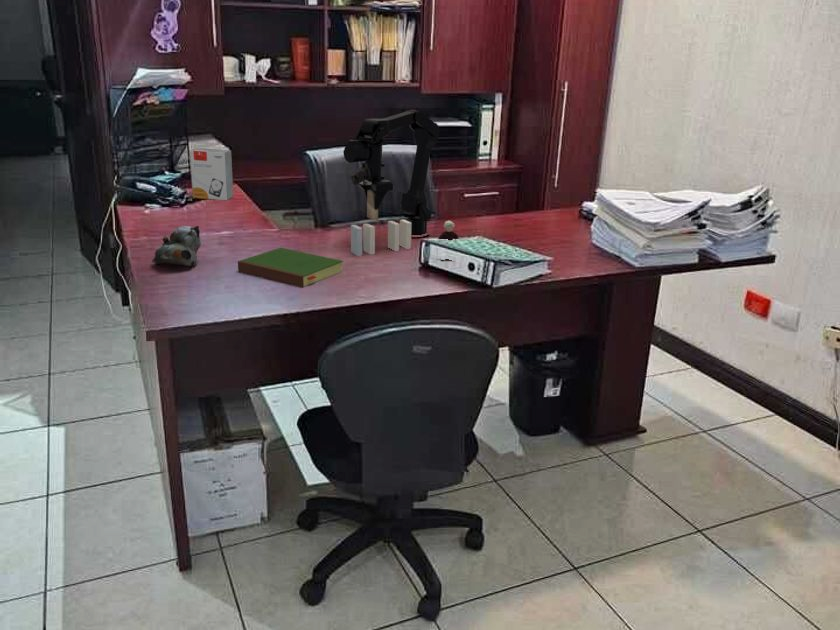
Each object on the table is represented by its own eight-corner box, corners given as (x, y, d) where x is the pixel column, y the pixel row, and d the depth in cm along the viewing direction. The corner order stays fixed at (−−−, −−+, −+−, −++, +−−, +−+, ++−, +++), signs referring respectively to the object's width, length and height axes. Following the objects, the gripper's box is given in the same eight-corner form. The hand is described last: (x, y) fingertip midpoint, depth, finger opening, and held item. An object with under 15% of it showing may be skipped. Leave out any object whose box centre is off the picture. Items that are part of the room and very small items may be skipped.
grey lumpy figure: (147, 262, 222) (159, 218, 224) (186, 273, 229) (198, 230, 230) (158, 260, 210) (171, 214, 211) (199, 272, 216) (211, 227, 217)
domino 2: (371, 216, 246) (371, 189, 243) (378, 219, 242) (378, 192, 238) (367, 216, 245) (367, 190, 242) (373, 220, 241) (373, 192, 238)
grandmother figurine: (440, 262, 231) (441, 223, 227) (434, 259, 234) (435, 220, 230) (461, 259, 235) (463, 221, 230) (455, 256, 238) (457, 218, 233)
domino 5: (403, 245, 249) (404, 219, 246) (410, 249, 245) (411, 222, 242) (399, 246, 248) (399, 219, 245) (406, 249, 244) (407, 223, 241)
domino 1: (355, 251, 240) (355, 224, 237) (362, 255, 236) (362, 228, 233) (350, 252, 239) (350, 225, 236) (357, 256, 235) (357, 228, 232)
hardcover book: (238, 273, 217) (237, 261, 215) (281, 259, 232) (280, 247, 231) (304, 289, 205) (304, 276, 204) (345, 273, 220) (345, 261, 219)
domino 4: (391, 247, 247) (392, 220, 243) (399, 250, 243) (399, 224, 239) (387, 247, 246) (387, 221, 243) (394, 251, 242) (395, 224, 239)
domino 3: (367, 250, 242) (367, 223, 239) (374, 254, 238) (374, 226, 235) (363, 250, 241) (363, 223, 238) (370, 254, 237) (370, 227, 234)
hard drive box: (192, 198, 309) (188, 150, 301) (200, 194, 316) (196, 147, 309) (227, 200, 306) (224, 152, 299) (234, 197, 313) (231, 149, 306)
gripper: (338, 156, 240) (338, 203, 246) (362, 165, 225) (362, 215, 231) (369, 155, 246) (369, 201, 251) (395, 163, 230) (394, 213, 236)
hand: (372, 207), depth 242 cm, fingers closed on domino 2, 5 cm apart
